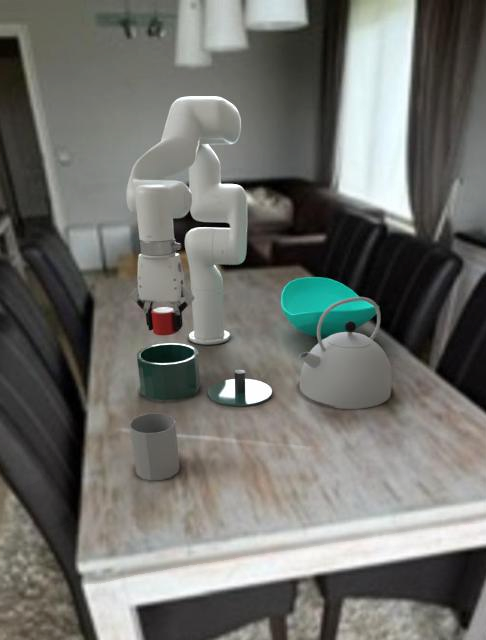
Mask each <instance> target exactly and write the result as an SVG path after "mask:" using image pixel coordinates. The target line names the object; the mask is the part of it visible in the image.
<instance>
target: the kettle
mask: <svg viewBox="0 0 486 640" xmlns="http://www.w3.org/2000/svg"><path fill="white" fill-rule="evenodd" d="M352 301H366V302H368V303H370V304H371V305H373V306H374V307H375V309H376V312H377V314H376V325H375V329H374V330H373V332H372V334H371V336H370V337H368V336H367V335H365V334H363V333H361V332H360V333H359V332H355V331H356V329H357V328H356V324H355V323H354V322H353V321H348V322H347V323H346V324H345V330H346V331H347V332H341V333H336V334H333V335H330V336H329V337H327V338H325V339H321V336H320V329H321V325H322V322H323V319H324V317H325V316H326V315H327V314H328V313H329V312H330V311H331V310H332V309H333V308H335V307H337V306H339V305H341V304H344V303H348V302H352ZM378 306H379V305H378V304H377V303H376V302H375V301H374V300H373V299H371V298H369V297H365V296H359V297H355V298H349V299H345V300H342V301H339V302H337V303H335V304H333V305H331V306H330V307H329V308H328V309H326V311H325V312H324V313H323V314H322V316H321V318H320V320H319V322H318V326H317V337H316V338H317V344H315V345H314V347H312V349H311V350H310V351H303V352H302V353H301V354H300V355H299V359H300V360H302V361H303V364H302V367H301V371H300V379H299V389H300V391H301V392H302V394H303V395H304V396H305V397H307V398H309V399H311V400H313V401H316V402H319V403H322V404H325V405H330V406H331V407H332V408H334V409H343V410H345V409H346V410H358V409H367V408H373V407H377V406H380V405H381V404H384V403H385V402H386V401H388V400H389V399H390V397H391V394H392V385H393V372H392V366H391V362H390V360H389V358H388V356H387V354H386V352H385V351H384V350H383V348H382V347H381V346H380V345H379V344H378V343H377V342H376V341H374V339H375V337H376V336H377V334H378V332H379V330H380V325H381V319H382V318H381V310H380V306H379V307H378Z"/></svg>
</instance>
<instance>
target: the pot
mask: <svg viewBox="0 0 486 640" xmlns="http://www.w3.org/2000/svg"><path fill="white" fill-rule="evenodd" d="M136 361H137V370H138V378H139V387H140V393H141V395H142V396H143V397H144V396H145V397H146V398H149V399H152V400H159V401H175V400H181V399H185V398H189V397H191V396H193V395H196V393H198V391H199V390H200V388H201V382H200V381H201V380H200V365H199V352H198V349H197V348H195V347H193V346H192V345H188V344H185V343H174V342H173V343H172V342H171V343H168V342H167V343H158V344H153V345H149V346H147V347H144V348H142V349H140V350H139V351H138V352H137V353H136Z"/></svg>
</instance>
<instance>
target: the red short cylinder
mask: <svg viewBox="0 0 486 640" xmlns="http://www.w3.org/2000/svg"><path fill="white" fill-rule="evenodd" d="M152 309H153V310H152V311H151V314H152V324H153V330H152V333H153V334H154V335H156V336H171V335H175V334H177V332H175V331H174V323H173V315H174V314H175V313H174V309H173V307H168V306H161V307H156V308H152Z"/></svg>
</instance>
